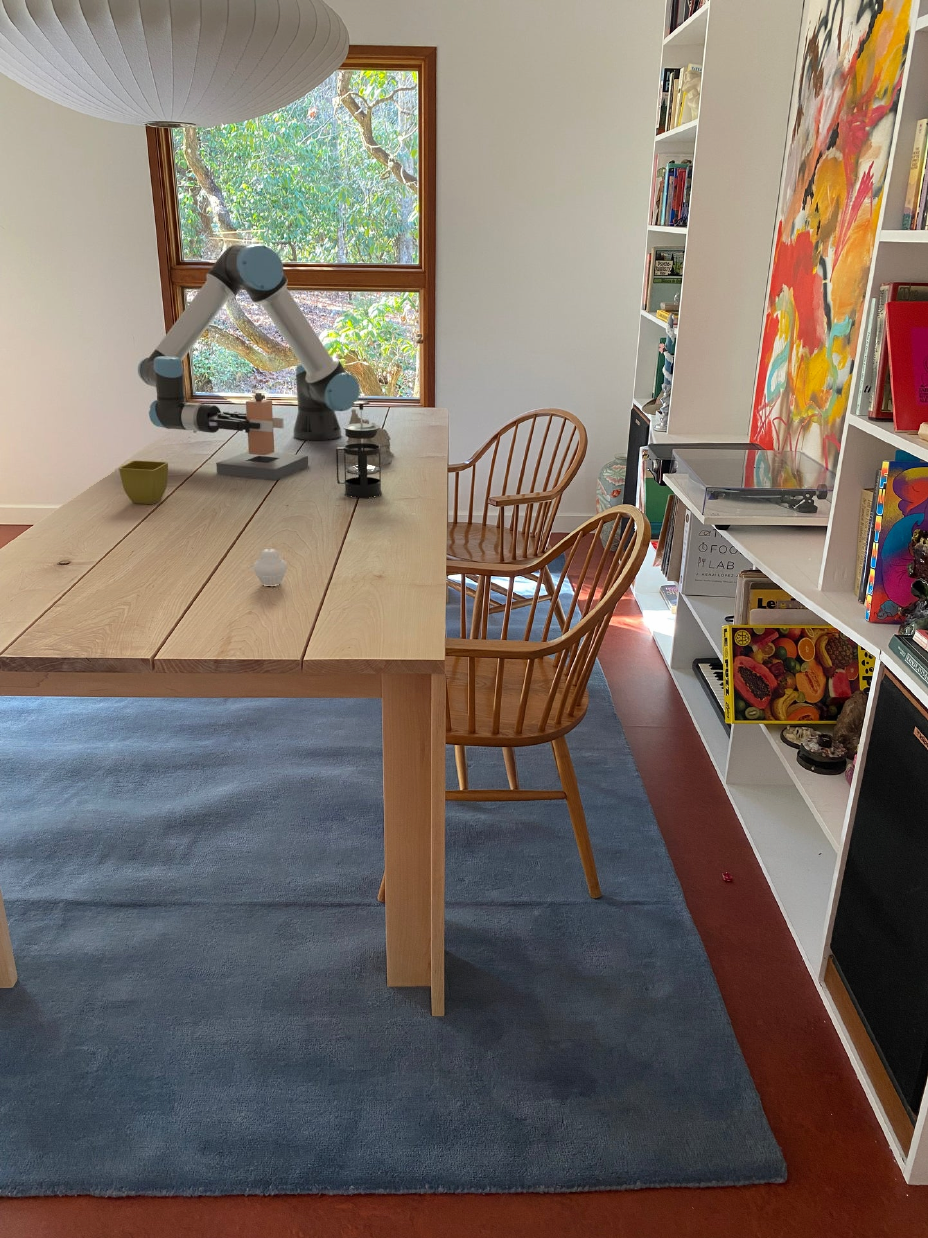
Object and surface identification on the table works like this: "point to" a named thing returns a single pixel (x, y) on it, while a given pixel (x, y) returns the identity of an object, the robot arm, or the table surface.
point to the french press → (361, 460)
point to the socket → (262, 465)
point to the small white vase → (270, 567)
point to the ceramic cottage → (379, 439)
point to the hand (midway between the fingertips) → (277, 424)
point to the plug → (260, 439)
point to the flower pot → (144, 480)
